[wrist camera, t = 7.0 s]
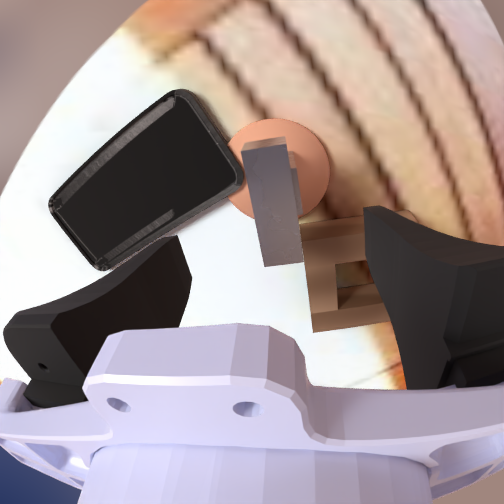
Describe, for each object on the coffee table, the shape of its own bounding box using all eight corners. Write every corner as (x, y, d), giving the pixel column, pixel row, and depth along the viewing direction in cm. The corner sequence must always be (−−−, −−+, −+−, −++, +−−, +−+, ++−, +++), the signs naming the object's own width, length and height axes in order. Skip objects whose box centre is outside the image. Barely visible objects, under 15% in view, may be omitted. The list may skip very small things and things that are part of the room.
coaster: (334, 212, 21) (334, 215, 21) (234, 227, 22) (233, 229, 22) (320, 111, 18) (321, 111, 18) (210, 130, 19) (208, 131, 19)
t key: (302, 213, 21) (309, 261, 16) (263, 218, 22) (258, 267, 16) (288, 124, 18) (293, 142, 13) (246, 131, 19) (233, 152, 13)
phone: (44, 204, 22) (182, 82, 17) (51, 199, 23) (187, 81, 18) (100, 276, 25) (251, 184, 20) (106, 268, 26) (252, 179, 21)
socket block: (402, 297, 25) (411, 317, 22) (310, 311, 26) (312, 332, 24) (408, 209, 21) (420, 225, 19) (299, 224, 22) (301, 241, 20)
